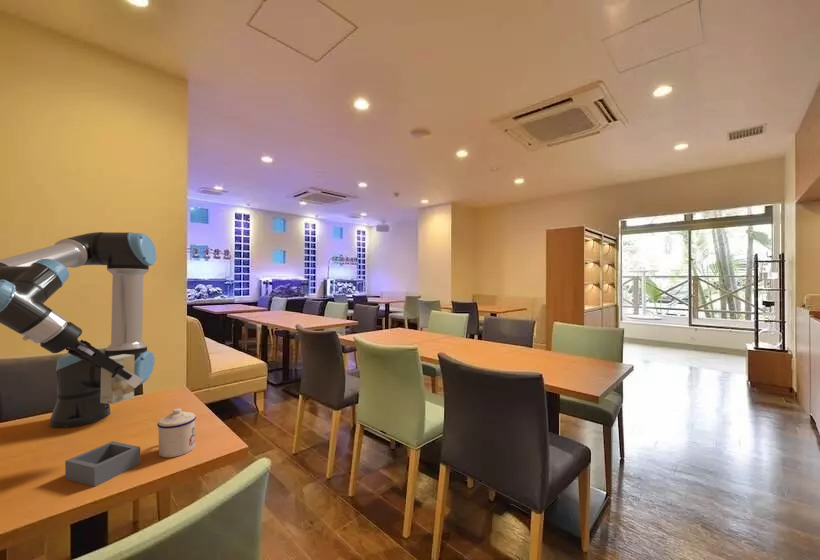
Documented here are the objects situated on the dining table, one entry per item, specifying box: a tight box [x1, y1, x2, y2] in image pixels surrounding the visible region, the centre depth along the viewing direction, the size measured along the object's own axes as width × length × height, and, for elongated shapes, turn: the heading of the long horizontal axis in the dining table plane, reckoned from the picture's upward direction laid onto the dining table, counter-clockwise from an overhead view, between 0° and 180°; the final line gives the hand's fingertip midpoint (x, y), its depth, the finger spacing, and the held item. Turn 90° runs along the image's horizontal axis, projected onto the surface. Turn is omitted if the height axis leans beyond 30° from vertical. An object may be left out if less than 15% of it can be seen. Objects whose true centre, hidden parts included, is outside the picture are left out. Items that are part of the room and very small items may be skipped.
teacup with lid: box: [157, 408, 197, 458], centre depth 101 cm, size 12×9×12 cm
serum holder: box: [64, 440, 141, 488], centre depth 89 cm, size 10×10×4 cm
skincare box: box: [100, 354, 135, 405], centre depth 98 cm, size 6×4×12 cm
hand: (133, 381), depth 101 cm, fingers closed on skincare box, 6 cm apart
